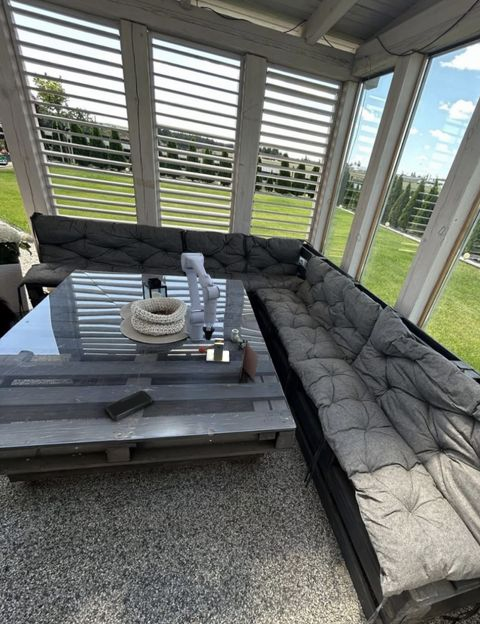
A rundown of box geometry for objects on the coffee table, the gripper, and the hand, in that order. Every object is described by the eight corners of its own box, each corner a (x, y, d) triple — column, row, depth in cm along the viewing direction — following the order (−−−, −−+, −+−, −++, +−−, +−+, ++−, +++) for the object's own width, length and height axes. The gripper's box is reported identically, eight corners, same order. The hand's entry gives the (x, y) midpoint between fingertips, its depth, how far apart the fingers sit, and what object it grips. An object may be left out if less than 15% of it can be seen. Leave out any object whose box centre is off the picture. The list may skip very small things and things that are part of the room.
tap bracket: (206, 362, 140) (207, 345, 135) (207, 351, 147) (208, 335, 142) (228, 363, 142) (230, 347, 137) (228, 352, 149) (230, 337, 144)
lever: (200, 355, 141) (197, 350, 139) (200, 351, 143) (197, 346, 141) (222, 347, 140) (220, 342, 138) (223, 344, 142) (220, 339, 141)
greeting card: (240, 367, 141) (244, 342, 133) (255, 369, 142) (259, 344, 133) (237, 382, 132) (241, 356, 123) (253, 384, 132) (258, 358, 124)
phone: (153, 400, 113) (114, 418, 102) (153, 402, 113) (114, 421, 103) (142, 389, 116) (104, 406, 106) (143, 391, 117) (104, 408, 107)
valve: (227, 340, 159) (237, 351, 152) (228, 329, 156) (238, 341, 148) (237, 337, 163) (248, 349, 155) (238, 327, 159) (249, 339, 151)
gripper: (218, 319, 128) (216, 344, 135) (219, 305, 140) (217, 328, 147) (202, 318, 127) (200, 343, 134) (204, 303, 138) (203, 327, 146)
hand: (208, 335), depth 141 cm, fingers open, 7 cm apart
